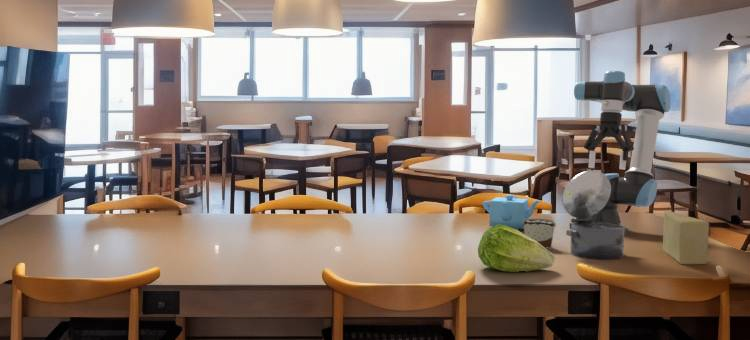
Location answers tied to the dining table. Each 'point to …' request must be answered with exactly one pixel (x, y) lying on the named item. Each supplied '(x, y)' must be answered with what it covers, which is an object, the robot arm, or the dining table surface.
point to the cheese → (685, 238)
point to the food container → (539, 230)
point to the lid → (586, 195)
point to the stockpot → (597, 240)
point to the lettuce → (512, 250)
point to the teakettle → (509, 211)
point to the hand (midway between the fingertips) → (606, 168)
